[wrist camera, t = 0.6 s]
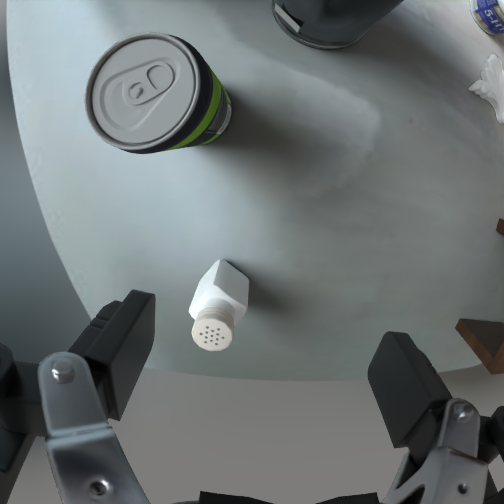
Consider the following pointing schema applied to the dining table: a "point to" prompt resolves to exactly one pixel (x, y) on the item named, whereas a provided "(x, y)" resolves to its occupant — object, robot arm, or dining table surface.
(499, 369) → the wooden table
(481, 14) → the pill bottle
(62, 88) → the dining table surface
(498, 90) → the acanthus leaf ornament
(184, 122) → the beverage can
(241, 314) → the salt shaker
